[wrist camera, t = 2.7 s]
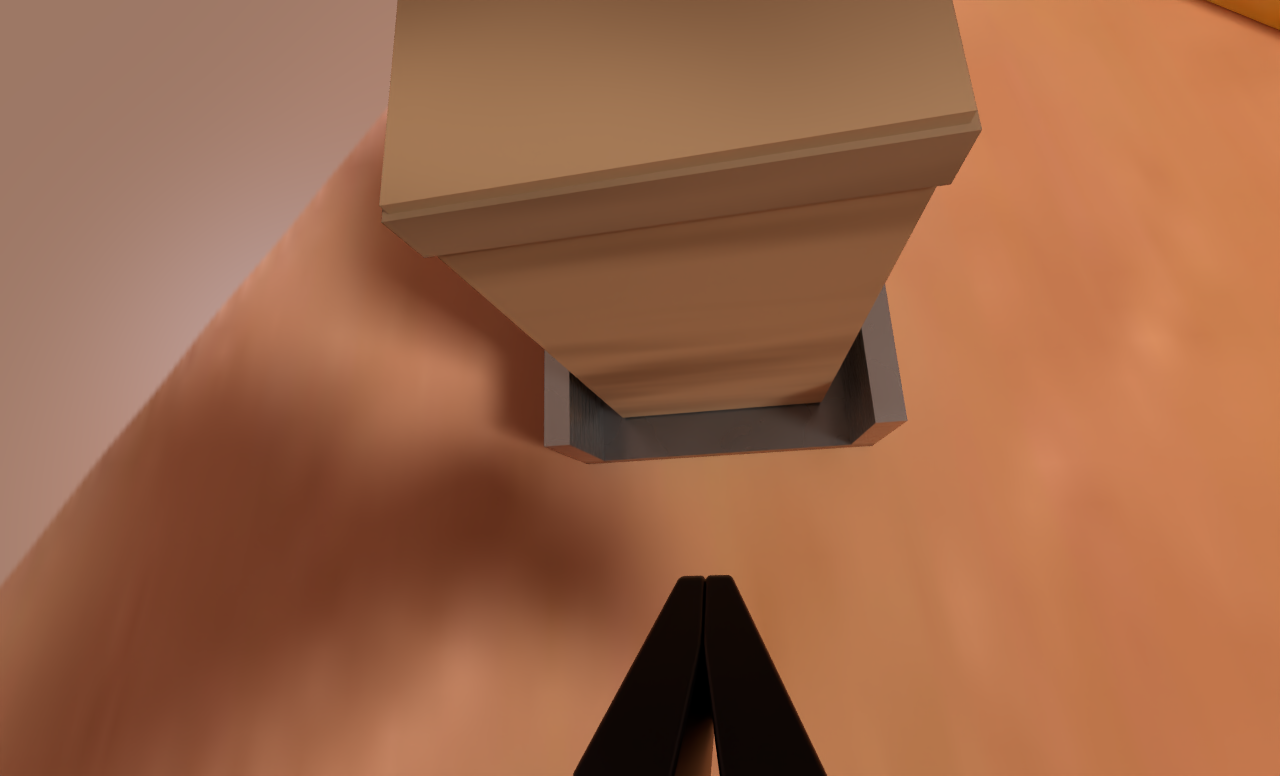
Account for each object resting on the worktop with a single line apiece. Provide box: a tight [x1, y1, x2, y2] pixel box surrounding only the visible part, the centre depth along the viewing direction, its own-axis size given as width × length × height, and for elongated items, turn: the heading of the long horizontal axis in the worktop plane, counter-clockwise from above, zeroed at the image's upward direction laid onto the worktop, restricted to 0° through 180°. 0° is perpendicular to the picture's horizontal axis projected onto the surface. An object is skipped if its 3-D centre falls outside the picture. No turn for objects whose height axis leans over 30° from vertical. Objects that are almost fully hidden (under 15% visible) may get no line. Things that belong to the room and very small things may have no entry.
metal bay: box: [544, 284, 907, 464], centre depth 21 cm, size 20×10×5 cm, turn 2°
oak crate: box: [379, 0, 982, 418], centre depth 14 cm, size 7×7×14 cm
